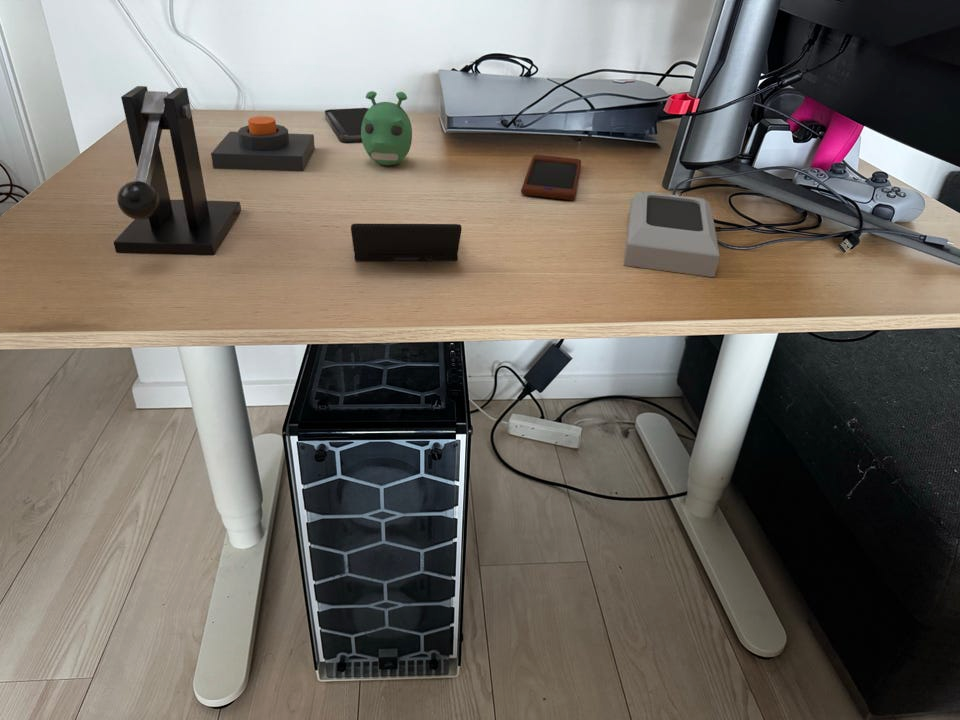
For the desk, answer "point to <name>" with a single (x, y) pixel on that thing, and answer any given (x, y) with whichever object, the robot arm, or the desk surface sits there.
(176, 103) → the bracket
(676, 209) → the grey tapered block
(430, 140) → the desk surface
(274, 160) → the button box
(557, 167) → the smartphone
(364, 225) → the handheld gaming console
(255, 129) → the button
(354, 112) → the phone
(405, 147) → the alien toy
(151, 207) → the lever
